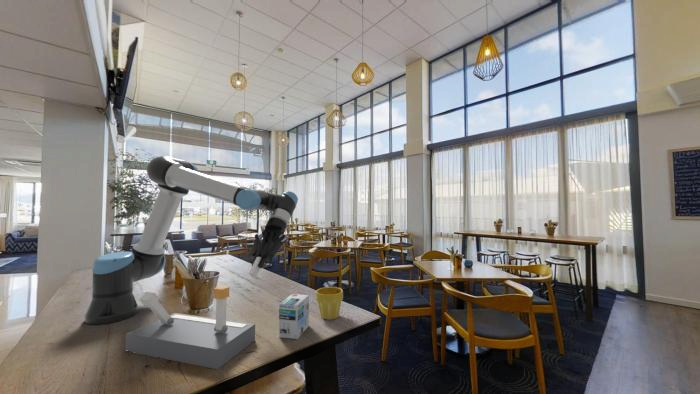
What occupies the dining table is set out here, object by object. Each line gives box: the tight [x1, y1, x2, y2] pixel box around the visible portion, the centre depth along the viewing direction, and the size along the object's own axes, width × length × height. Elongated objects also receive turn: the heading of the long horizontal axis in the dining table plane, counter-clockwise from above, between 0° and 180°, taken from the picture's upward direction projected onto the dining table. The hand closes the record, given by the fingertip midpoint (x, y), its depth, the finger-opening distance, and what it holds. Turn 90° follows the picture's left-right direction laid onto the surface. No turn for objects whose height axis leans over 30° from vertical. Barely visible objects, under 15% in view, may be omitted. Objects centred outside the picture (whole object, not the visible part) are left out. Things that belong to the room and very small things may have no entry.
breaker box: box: [125, 312, 256, 370], centre depth 83 cm, size 32×16×5 cm, turn 74°
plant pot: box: [315, 286, 344, 320], centre depth 105 cm, size 10×10×10 cm
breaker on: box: [138, 291, 174, 324], centre depth 83 cm, size 3×3×13 cm
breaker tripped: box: [213, 285, 230, 333], centre depth 80 cm, size 3×3×13 cm
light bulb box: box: [278, 293, 310, 340], centre depth 92 cm, size 11×7×11 cm, turn 168°
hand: (252, 275), depth 93 cm, fingers closed
